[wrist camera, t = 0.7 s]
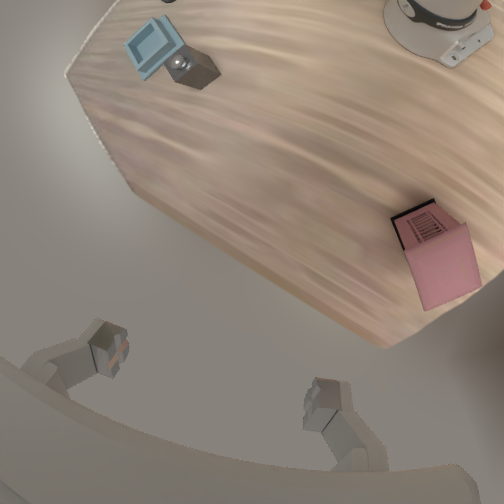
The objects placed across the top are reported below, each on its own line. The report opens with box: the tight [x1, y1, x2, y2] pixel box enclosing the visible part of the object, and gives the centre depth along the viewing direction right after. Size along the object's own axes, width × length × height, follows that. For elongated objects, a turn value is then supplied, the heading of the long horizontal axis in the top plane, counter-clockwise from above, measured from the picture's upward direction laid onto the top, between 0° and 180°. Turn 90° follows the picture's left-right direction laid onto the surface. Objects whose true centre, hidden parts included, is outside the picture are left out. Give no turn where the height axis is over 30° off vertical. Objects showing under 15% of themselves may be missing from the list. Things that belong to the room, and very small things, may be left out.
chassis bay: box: [123, 15, 186, 81], centre depth 47 cm, size 12×11×4 cm
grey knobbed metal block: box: [163, 44, 221, 90], centre depth 43 cm, size 5×5×10 cm
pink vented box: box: [390, 199, 482, 311], centre depth 36 cm, size 9×9×20 cm
